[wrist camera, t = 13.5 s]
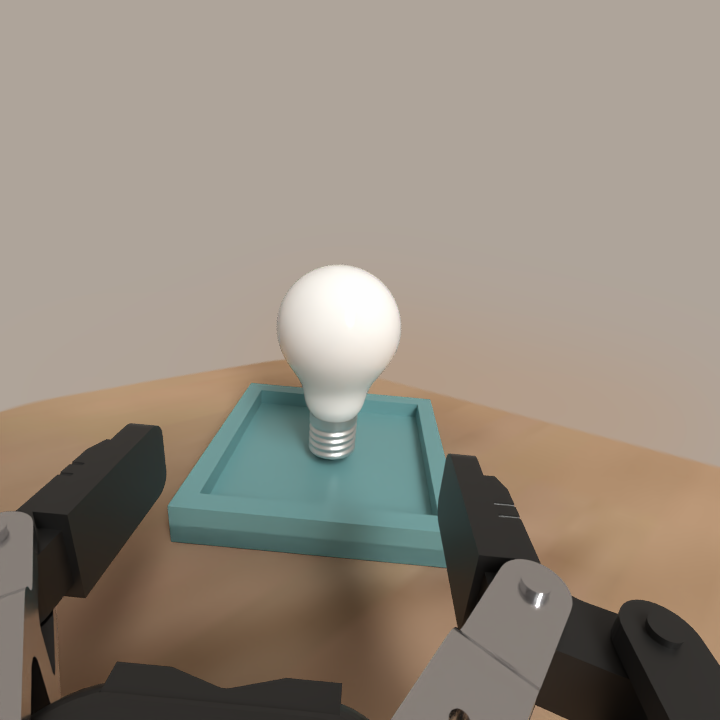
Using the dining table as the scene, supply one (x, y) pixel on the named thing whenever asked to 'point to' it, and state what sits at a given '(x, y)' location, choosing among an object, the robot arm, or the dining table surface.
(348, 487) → the tray
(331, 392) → the lightbulb
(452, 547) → the robot arm
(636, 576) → the dining table surface
